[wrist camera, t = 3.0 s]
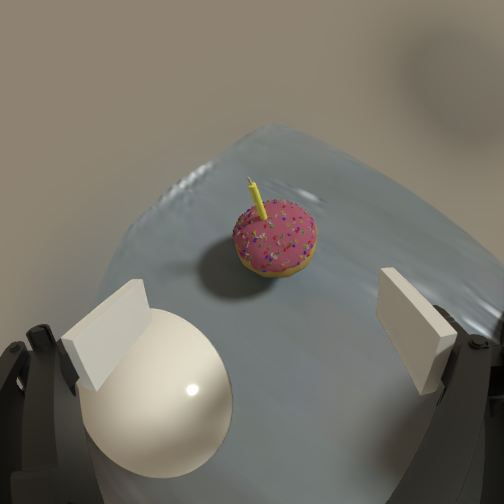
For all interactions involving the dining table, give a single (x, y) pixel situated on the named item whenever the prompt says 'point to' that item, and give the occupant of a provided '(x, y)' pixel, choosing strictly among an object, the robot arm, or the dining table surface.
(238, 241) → the cupcake
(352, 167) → the dining table surface
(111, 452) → the cake stand
